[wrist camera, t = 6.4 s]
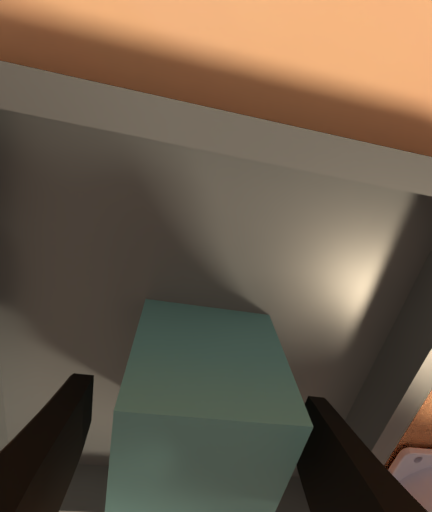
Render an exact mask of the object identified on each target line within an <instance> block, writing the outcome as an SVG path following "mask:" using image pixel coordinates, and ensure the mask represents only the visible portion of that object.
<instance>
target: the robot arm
mask: <svg viewBox="0 0 432 512" xmlns="http://www.w3.org/2000/svg"><path fill="white" fill-rule="evenodd" d="M93 384H94V375H86V374H76V373H74V374H72V375H71V376H69V378H68V379H67V380H66V381H65V383H64V384H63V385H62V386H61V387H60V389H59V390H58V391H57V392H56V393H55V394H54V396H53V397H52V398H51V399H50V400H49V401H48V402H47V403H46V405H45V406H44V407H43V408H42V409H41V410H40V411H39V412H38V413H37V414H36V415H35V416H34V418H33V419H32V420H31V421H30V422H29V423H28V424H27V425H26V426H25V427H24V428H23V429H22V430H21V431H20V432H19V433H18V434H17V435H16V436H15V437H14V438H13V439H12V440H11V441H10V442H9V443H8V444H7V445H6V446H5V447H4V448H3V449H2V450H1V451H0V512H59V510H60V507H61V505H62V502H63V500H64V497H65V495H66V492H67V490H68V488H69V485H70V483H71V480H72V478H73V475H74V473H75V470H76V468H77V465H78V463H79V460H80V457H81V454H82V451H83V448H84V445H85V441H86V438H87V435H88V431H89V428H90V424H91V421H92V403H93ZM305 407H306V409H307V412H308V414H309V417H310V419H311V422H312V424H313V429H312V431H311V434H310V436H309V438H308V440H307V442H306V445H305V447H304V449H303V451H302V454H301V456H300V458H299V460H298V462H297V469H298V473H299V476H300V480H301V483H302V487H303V490H304V493H305V496H306V500H307V503H308V506H309V509H310V512H432V449H425V448H412V447H407V448H404V449H402V450H401V451H400V452H399V453H398V455H397V456H396V458H395V460H394V461H393V463H392V464H391V466H390V467H389V469H388V470H387V468H386V467H385V466H384V465H383V464H382V463H381V462H380V461H379V460H378V459H377V457H376V456H375V455H374V454H373V453H372V452H371V451H370V449H369V448H368V447H367V446H366V445H365V444H364V443H363V441H362V440H361V439H360V438H359V437H358V436H357V434H356V433H355V432H354V431H353V430H352V429H351V427H350V426H349V425H348V424H347V423H346V422H345V420H344V419H343V418H342V417H341V416H340V415H339V413H338V412H337V411H336V410H335V409H334V408H333V406H332V405H331V404H330V403H329V402H328V401H327V400H326V399H325V398H324V397H314V396H308V398H307V400H306V402H305Z"/></svg>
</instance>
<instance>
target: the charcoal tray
mask: <svg viewBox="0 0 432 512" xmlns="http://www.w3.org/2000/svg"><path fill="white" fill-rule="evenodd" d="M145 299H150V300H158V301H166V302H173V303H181V304H189V305H197V306H204V307H212V308H220V309H227V310H235V311H243V312H250V313H258V314H266V315H270V318H271V320H272V323H273V326H274V328H275V331H276V333H277V336H278V338H279V341H280V343H281V346H282V348H283V351H284V353H285V356H286V358H287V361H288V364H289V366H290V369H291V371H292V374H293V376H294V379H295V381H296V384H297V386H298V389H299V391H300V394H301V396H302V399H303V402H304V404H305V402H306V400H307V398H308V396H314V397H324V398H325V399H326V400H327V401H328V402H329V403H330V404H331V405H332V406H333V408H334V409H335V410H336V411H337V412H338V413H339V415H340V416H341V417H342V418H343V419H344V420H345V422H346V423H347V424H348V425H349V426H350V427H351V429H352V430H353V431H354V432H355V433H356V434H357V436H358V437H359V438H360V439H361V440H362V441H363V443H364V444H365V445H366V446H367V447H368V448H369V449H370V451H371V452H372V453H373V454H374V455H375V456H376V457H377V459H378V460H379V461H380V462H381V463H382V464H383V465H385V463H386V462H387V460H388V459H389V457H390V456H391V454H392V452H393V451H394V449H395V448H396V446H397V444H398V443H399V441H400V440H401V438H402V436H403V435H404V433H405V432H406V430H407V428H408V427H409V425H410V424H411V422H412V420H413V419H414V417H415V416H416V414H417V412H418V411H419V409H420V408H421V406H422V404H423V403H424V401H425V400H426V398H427V396H428V395H429V393H430V392H431V390H432V157H430V156H425V155H421V154H416V153H412V152H407V151H403V150H398V149H394V148H389V147H385V146H380V145H376V144H371V143H367V142H362V141H358V140H353V139H349V138H345V137H340V136H336V135H331V134H327V133H322V132H318V131H313V130H309V129H304V128H300V127H295V126H291V125H286V124H282V123H277V122H273V121H268V120H264V119H260V118H255V117H251V116H246V115H242V114H237V113H233V112H228V111H224V110H219V109H215V108H210V107H206V106H201V105H197V104H192V103H188V102H183V101H179V100H175V99H170V98H166V97H161V96H157V95H152V94H148V93H143V92H139V91H134V90H130V89H125V88H121V87H116V86H112V85H107V84H103V83H98V82H94V81H90V80H85V79H81V78H76V77H72V76H67V75H63V74H58V73H54V72H49V71H45V70H40V69H36V68H31V67H27V66H22V65H18V64H13V63H9V62H5V61H0V451H1V450H2V449H3V448H4V447H5V446H6V445H7V444H8V443H9V442H10V441H11V440H12V439H13V438H14V437H15V436H16V435H17V434H18V433H19V432H20V431H21V430H22V429H23V428H24V427H25V426H26V425H27V424H28V423H29V422H30V421H31V420H32V419H33V418H34V416H35V415H36V414H37V413H38V412H39V411H40V410H41V409H42V408H43V407H44V406H45V405H46V403H47V402H48V401H49V400H50V399H51V398H52V397H53V396H54V394H55V393H56V392H57V391H58V390H59V389H60V387H61V386H62V385H63V384H64V383H65V381H66V380H67V379H68V378H69V376H71V375H72V374H74V373H76V374H86V375H94V384H93V403H92V421H91V424H90V428H89V431H88V435H87V438H86V441H85V445H84V448H83V451H82V454H81V457H80V460H79V463H78V465H77V468H76V470H75V473H74V475H73V478H72V480H71V483H70V485H69V488H68V490H67V492H66V495H65V497H64V500H63V502H62V505H61V507H60V510H59V512H105V504H106V492H107V481H108V469H109V458H110V447H111V435H112V424H113V412H114V408H115V404H116V401H117V397H118V394H119V390H120V387H121V383H122V380H123V376H124V373H125V369H126V366H127V362H128V359H129V355H130V352H131V348H132V345H133V341H134V338H135V334H136V331H137V327H138V324H139V320H140V317H141V313H142V310H143V306H144V303H145ZM275 512H310V509H309V506H308V503H307V500H306V496H305V493H304V490H303V487H302V483H301V480H300V476H299V473H298V469H297V465H296V467H295V469H294V471H293V473H292V476H291V478H290V480H289V482H288V485H287V487H286V489H285V491H284V493H283V496H282V498H281V500H280V502H279V505H278V507H277V509H276V511H275Z"/></svg>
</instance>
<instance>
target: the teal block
mask: <svg viewBox="0 0 432 512" xmlns="http://www.w3.org/2000/svg"><path fill="white" fill-rule="evenodd" d="M312 429H313V424H312V422H311V419H310V417H309V414H308V412H307V409H306V407H305V404H304V402H303V399H302V396H301V394H300V391H299V389H298V386H297V384H296V381H295V379H294V376H293V374H292V371H291V369H290V366H289V364H288V361H287V358H286V356H285V353H284V351H283V348H282V346H281V343H280V341H279V338H278V336H277V333H276V331H275V328H274V326H273V323H272V320H271V318H270V315H266V314H258V313H250V312H243V311H235V310H227V309H220V308H212V307H204V306H197V305H189V304H181V303H173V302H166V301H158V300H150V299H145V303H144V306H143V310H142V313H141V317H140V320H139V324H138V327H137V331H136V334H135V338H134V341H133V345H132V348H131V352H130V355H129V359H128V362H127V366H126V369H125V373H124V376H123V380H122V383H121V387H120V390H119V394H118V397H117V401H116V404H115V408H114V412H113V424H112V435H111V447H110V458H109V469H108V481H107V492H106V504H105V512H275V511H276V509H277V507H278V505H279V502H280V500H281V498H282V496H283V493H284V491H285V489H286V487H287V485H288V482H289V480H290V478H291V476H292V473H293V471H294V469H295V467H296V465H297V462H298V460H299V458H300V456H301V454H302V451H303V449H304V447H305V445H306V442H307V440H308V438H309V436H310V434H311V431H312Z"/></svg>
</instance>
